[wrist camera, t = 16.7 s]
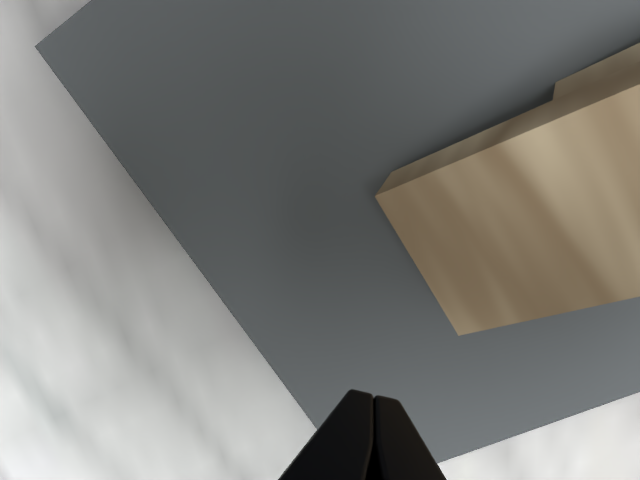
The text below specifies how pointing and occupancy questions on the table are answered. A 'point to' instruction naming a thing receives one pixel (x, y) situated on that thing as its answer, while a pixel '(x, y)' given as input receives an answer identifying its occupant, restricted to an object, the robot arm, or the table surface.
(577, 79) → the domino
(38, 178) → the table surface
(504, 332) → the mat
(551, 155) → the domino
